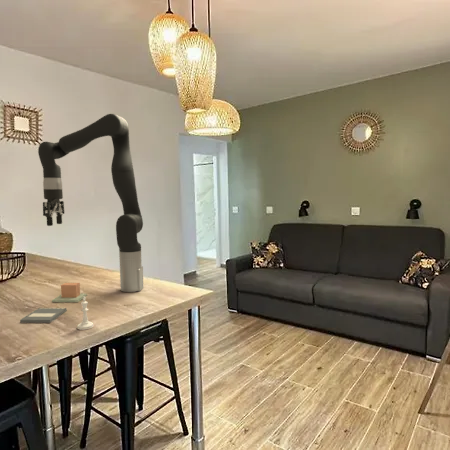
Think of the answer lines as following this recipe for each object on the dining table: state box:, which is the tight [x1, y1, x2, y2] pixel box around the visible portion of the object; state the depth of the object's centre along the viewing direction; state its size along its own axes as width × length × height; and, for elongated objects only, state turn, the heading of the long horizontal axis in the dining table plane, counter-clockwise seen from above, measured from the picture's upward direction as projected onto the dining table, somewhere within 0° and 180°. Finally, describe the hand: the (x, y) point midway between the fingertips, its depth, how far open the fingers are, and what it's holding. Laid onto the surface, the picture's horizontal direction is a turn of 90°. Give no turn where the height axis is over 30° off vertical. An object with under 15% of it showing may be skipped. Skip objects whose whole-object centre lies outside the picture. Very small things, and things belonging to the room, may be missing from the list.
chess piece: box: [76, 296, 95, 331], centre depth 112 cm, size 5×5×10 cm
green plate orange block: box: [51, 282, 88, 303], centre depth 140 cm, size 10×9×6 cm
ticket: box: [19, 307, 68, 324], centre depth 121 cm, size 10×12×1 cm
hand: (54, 224), depth 156 cm, fingers open, 8 cm apart
